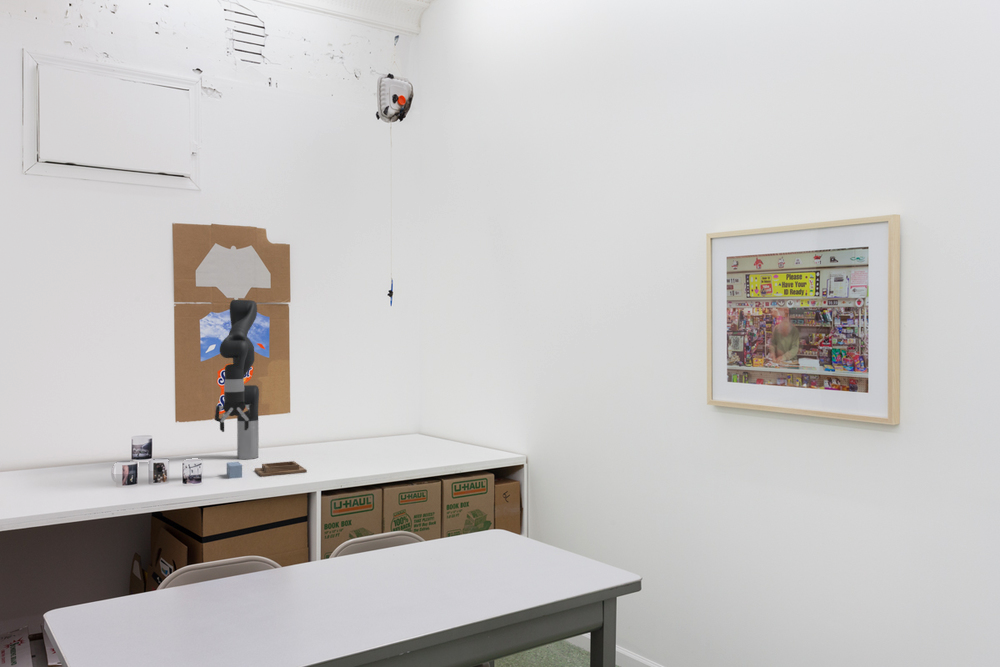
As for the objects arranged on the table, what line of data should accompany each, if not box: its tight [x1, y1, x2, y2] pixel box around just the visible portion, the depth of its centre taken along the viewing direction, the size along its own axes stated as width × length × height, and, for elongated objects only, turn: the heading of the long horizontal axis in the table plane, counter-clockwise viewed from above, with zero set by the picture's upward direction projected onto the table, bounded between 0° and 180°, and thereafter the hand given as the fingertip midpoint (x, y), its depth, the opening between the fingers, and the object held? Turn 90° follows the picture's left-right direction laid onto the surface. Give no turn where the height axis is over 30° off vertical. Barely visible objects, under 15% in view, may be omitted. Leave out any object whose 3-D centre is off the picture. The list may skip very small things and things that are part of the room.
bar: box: [226, 461, 243, 479], centre depth 281 cm, size 9×4×5 cm, turn 29°
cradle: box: [254, 460, 307, 478], centre depth 290 cm, size 14×18×3 cm
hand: (234, 430), depth 281 cm, fingers open, 8 cm apart
